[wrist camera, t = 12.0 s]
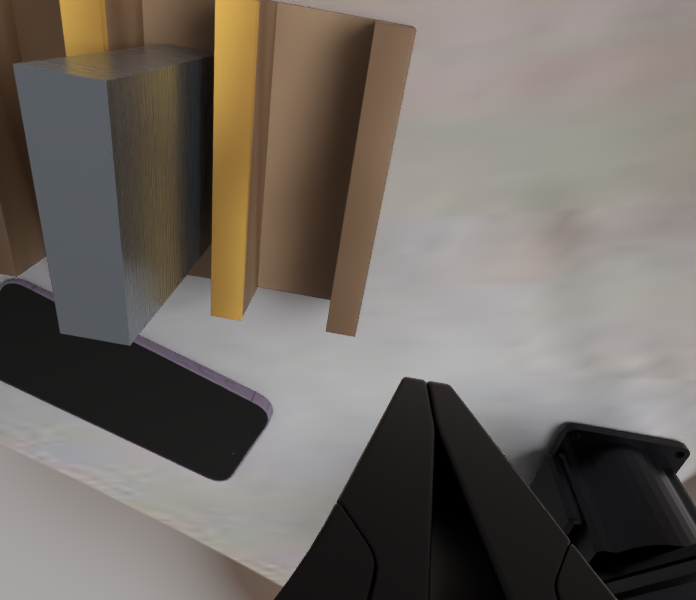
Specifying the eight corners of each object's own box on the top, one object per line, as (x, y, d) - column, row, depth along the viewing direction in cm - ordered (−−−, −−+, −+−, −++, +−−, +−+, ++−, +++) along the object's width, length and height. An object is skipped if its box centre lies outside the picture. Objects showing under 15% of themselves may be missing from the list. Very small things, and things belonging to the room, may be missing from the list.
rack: (413, 26, 17) (416, 29, 14) (360, 293, 23) (354, 340, 20) (-11, -51, 17) (-107, -66, 14) (41, 236, 23) (-19, 274, 19)
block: (221, 53, 17) (106, 80, 10) (217, 235, 21) (130, 345, 14) (165, 43, 17) (12, 63, 10) (171, 227, 21) (60, 333, 14)
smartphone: (2, 272, 24) (277, 412, 26) (18, 262, 25) (282, 398, 27) (-21, 372, 27) (224, 487, 29) (-6, 360, 28) (230, 472, 30)
